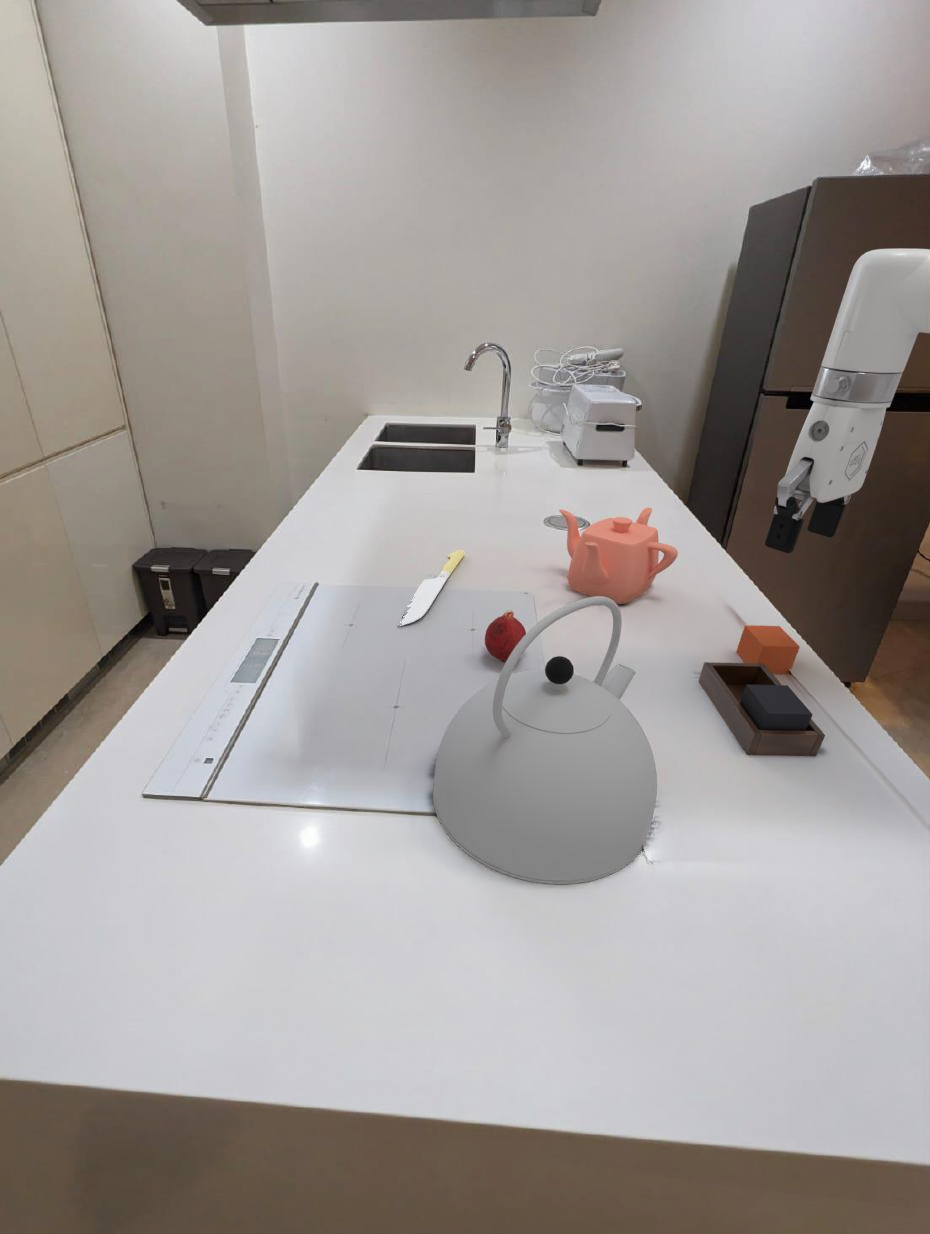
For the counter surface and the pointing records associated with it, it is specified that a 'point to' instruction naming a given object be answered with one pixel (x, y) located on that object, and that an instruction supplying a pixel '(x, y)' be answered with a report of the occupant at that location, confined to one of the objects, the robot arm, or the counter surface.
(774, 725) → the pad charcoal
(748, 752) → the brown wooden tray
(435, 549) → the counter surface
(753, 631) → the orange block
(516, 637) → the red pomegranate
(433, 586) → the knife
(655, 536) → the pot
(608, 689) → the kettle
